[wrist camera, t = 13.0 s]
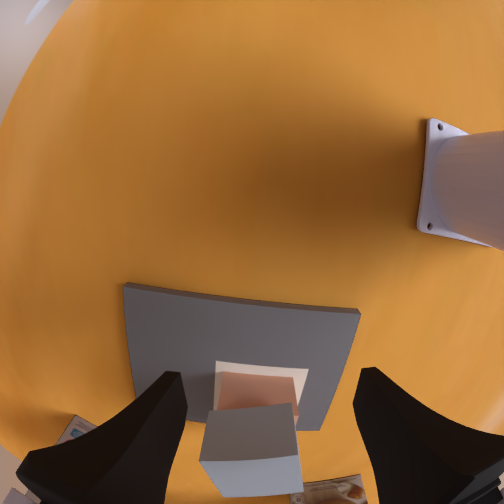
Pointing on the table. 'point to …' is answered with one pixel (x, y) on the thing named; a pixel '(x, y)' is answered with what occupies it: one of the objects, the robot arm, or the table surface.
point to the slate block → (252, 451)
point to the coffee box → (332, 492)
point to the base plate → (237, 345)
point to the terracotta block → (256, 391)
